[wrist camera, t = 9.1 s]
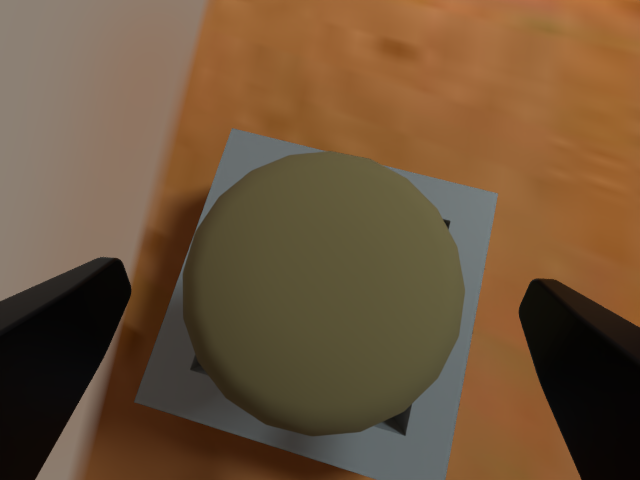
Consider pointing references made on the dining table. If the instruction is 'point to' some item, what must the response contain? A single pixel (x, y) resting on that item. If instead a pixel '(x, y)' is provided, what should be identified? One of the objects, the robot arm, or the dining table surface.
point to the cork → (323, 293)
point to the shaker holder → (350, 448)
